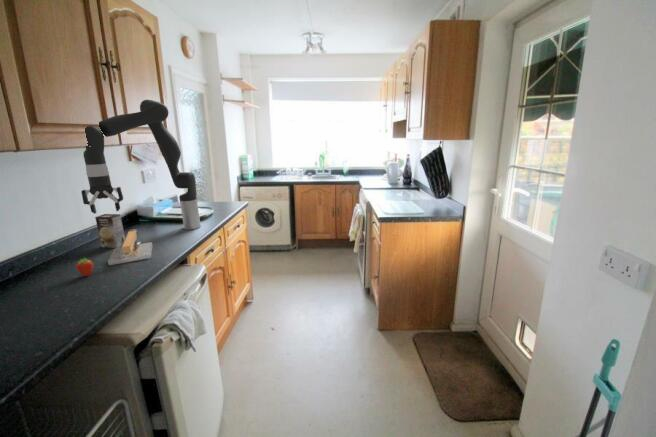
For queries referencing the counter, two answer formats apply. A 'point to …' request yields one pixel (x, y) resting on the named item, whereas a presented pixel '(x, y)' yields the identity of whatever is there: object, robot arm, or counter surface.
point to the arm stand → (137, 242)
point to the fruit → (85, 266)
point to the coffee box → (110, 230)
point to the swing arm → (129, 241)
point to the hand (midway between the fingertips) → (106, 211)
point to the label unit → (131, 254)
